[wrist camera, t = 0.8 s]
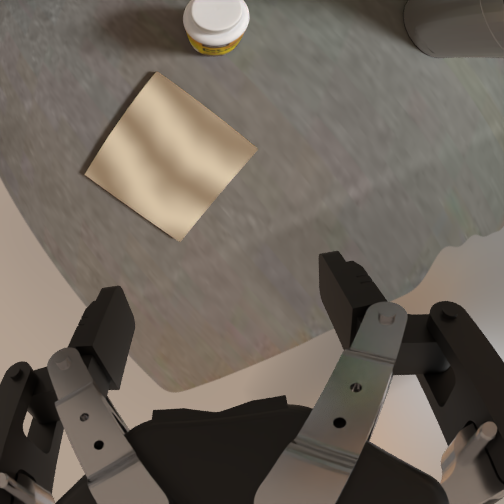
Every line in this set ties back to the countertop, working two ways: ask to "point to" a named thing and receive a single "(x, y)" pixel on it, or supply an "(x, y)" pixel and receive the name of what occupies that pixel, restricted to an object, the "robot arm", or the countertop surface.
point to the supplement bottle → (215, 25)
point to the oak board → (169, 157)
